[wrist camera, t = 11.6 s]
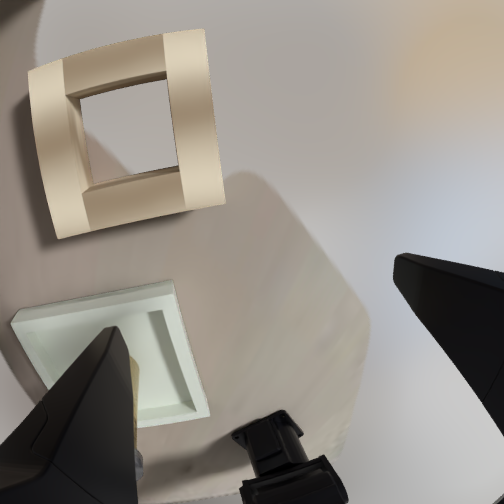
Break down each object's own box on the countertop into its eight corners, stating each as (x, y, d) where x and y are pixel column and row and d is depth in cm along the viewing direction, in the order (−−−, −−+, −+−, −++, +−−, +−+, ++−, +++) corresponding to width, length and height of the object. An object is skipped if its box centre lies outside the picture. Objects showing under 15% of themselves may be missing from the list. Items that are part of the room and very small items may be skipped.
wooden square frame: (217, 192, 20) (225, 203, 17) (71, 223, 18) (57, 239, 16) (199, 42, 16) (204, 28, 13) (46, 77, 14) (28, 71, 12)
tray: (207, 400, 27) (210, 416, 25) (82, 417, 25) (79, 432, 23) (172, 279, 22) (173, 293, 20) (19, 309, 19) (10, 323, 17)
